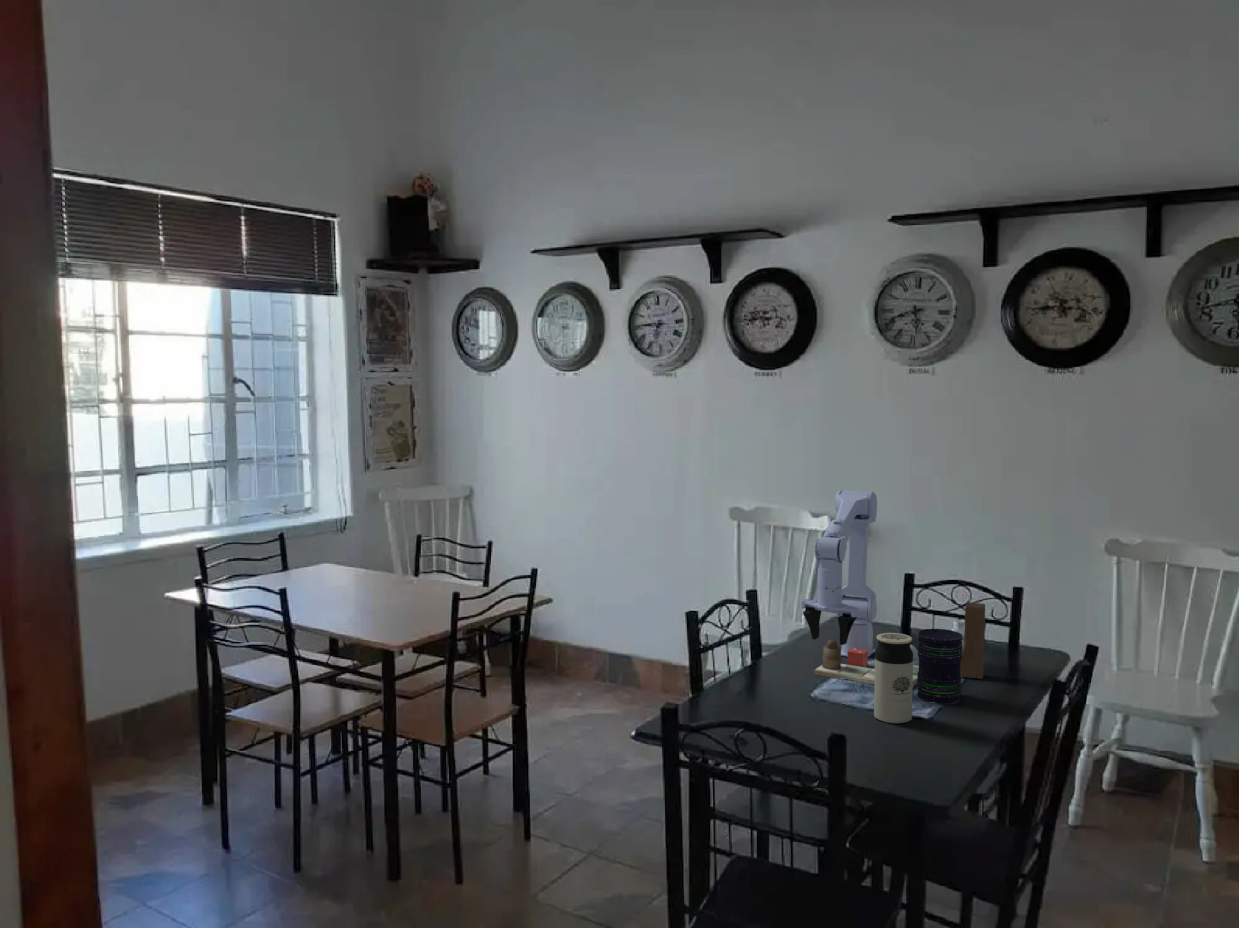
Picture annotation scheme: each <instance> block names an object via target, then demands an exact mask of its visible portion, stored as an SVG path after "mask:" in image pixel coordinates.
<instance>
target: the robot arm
mask: <svg viewBox="0 0 1239 928" xmlns="http://www.w3.org/2000/svg"><path fill="white" fill-rule="evenodd" d="M834 497H835V498H834V507H835V511H836V513H837V515H836V516H835V519H832V520H831V521H830V522H829V524H828V526H827V528H826V529H825V532H824V534H823V536H820V538H817V539H816V540H815V546H814V556H815V561H816V562H815V563H816V564H815V566H816V568H817V600H815V599H808V598H805V599H802V600H801V609H804V610H803V611H802V615H803V616H804V618H805V620H806V622H807V625H808V627H809V632H810V635H811V639H812V640H816V639H820V621H821V615H822V612H827V613H832V614H835V615H836V617H837V622H838V628H839V645H840V646H841V657H847V658H848V651H849V650H850V649H852V648H858V649H865V650H868V658H869V657H870V656H871V655H873V654H875V650H876V648H873V646H874V645H873V642H874V639H873V637H874V629H873V628H874V627H873V625H872V622H873V621H875V619H876V616H877V595H876V592H874V590H872V589H871V587H869V586H868V585H867V581H866V580H867V564H868V563H867V560H868V540H869V539H868V538H869V528H870V525H871V524H873V523H875V522H876V519H877V516H878V515H877V513H878V512H877V511H878V510H877V509H878V498H877V495H876V493H875V492H874V491H856V490H855V491H852V490H843V489H842V490H841V489H840V490H839V489H838V491H837V492H836V494H835V496H834ZM848 540H849V544H848V546H847V542H848ZM848 548H849V549H848ZM847 549H848V566H847V567H848V568H847V584H846V585H845V586H843V562H844V561H845V558H846V552H847Z"/></svg>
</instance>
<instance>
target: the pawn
mask: <svg viewBox="0 0 1239 928" xmlns="http://www.w3.org/2000/svg"><path fill="white" fill-rule="evenodd" d="M841 650H842V646H839V645H838V642H837V641H836V640H835V639H829V640H828V641H827V642H826V644H825V645H823V646H822V664H823V668H825V669H830V670H837V669H840V668H841V664H842V658H841V657H842V656H841Z"/></svg>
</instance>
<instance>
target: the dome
mask: <svg viewBox="0 0 1239 928" xmlns="http://www.w3.org/2000/svg"><path fill="white" fill-rule="evenodd" d="M910 648H911V650H912V652H913V665H915V666H919V657H918V649H917V648H916V647H915V646H914V645H912V644H910Z"/></svg>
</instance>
